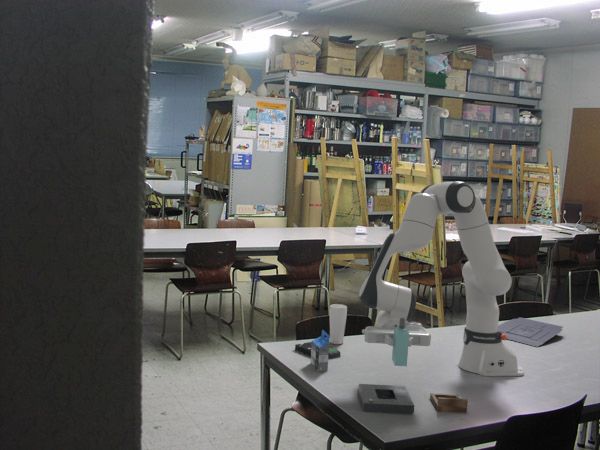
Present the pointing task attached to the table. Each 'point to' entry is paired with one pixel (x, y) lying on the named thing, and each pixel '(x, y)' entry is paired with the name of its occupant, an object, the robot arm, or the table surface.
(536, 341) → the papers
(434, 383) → the table surface
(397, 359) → the plug
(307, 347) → the disk drive
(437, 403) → the open wooden frame
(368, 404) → the port block
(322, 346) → the blue product box
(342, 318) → the drinking glass
